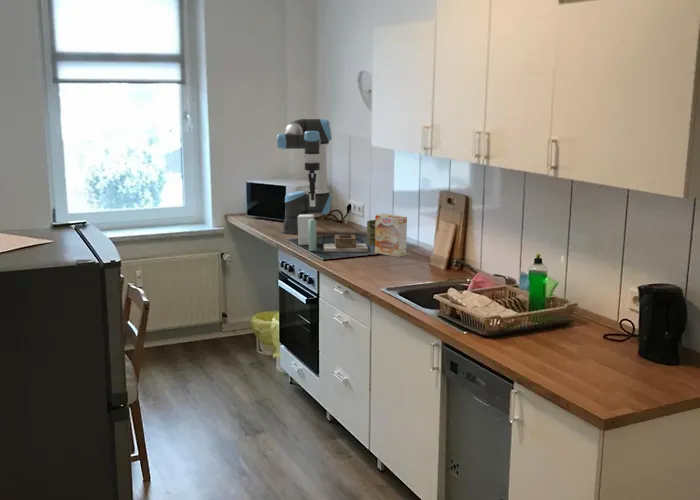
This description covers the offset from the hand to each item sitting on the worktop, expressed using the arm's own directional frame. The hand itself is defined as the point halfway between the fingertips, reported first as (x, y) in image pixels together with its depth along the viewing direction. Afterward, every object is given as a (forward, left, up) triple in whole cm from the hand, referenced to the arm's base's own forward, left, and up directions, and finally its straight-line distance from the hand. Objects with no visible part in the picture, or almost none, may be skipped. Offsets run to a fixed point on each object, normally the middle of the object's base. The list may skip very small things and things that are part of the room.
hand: (312, 204), depth 383 cm
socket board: (-4, +17, -24) cm, 30 cm away
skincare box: (-18, -3, -24) cm, 30 cm away
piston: (-17, +35, -24) cm, 46 cm away
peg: (0, 0, -24) cm, 24 cm away
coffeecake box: (+9, +39, -24) cm, 47 cm away
